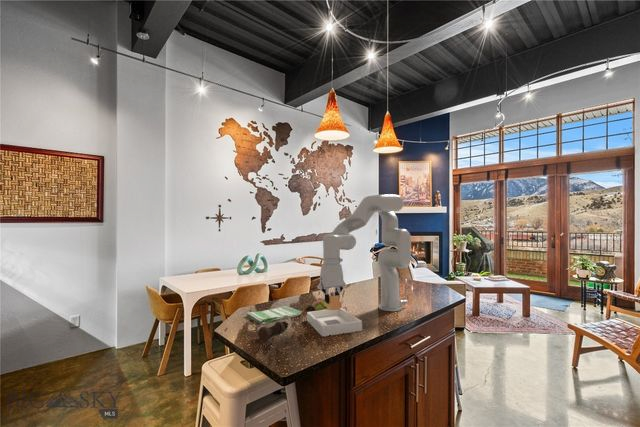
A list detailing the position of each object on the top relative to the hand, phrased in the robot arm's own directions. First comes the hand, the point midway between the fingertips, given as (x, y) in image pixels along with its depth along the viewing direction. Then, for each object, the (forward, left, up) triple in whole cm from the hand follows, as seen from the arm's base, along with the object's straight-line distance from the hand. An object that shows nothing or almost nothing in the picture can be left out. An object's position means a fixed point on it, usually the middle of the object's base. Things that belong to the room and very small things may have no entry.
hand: (332, 302), depth 134 cm
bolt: (+26, +1, -11) cm, 28 cm away
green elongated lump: (-4, -23, -11) cm, 26 cm away
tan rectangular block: (0, +2, -3) cm, 3 cm away
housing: (0, 0, -10) cm, 10 cm away
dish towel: (+22, -25, -11) cm, 35 cm away
